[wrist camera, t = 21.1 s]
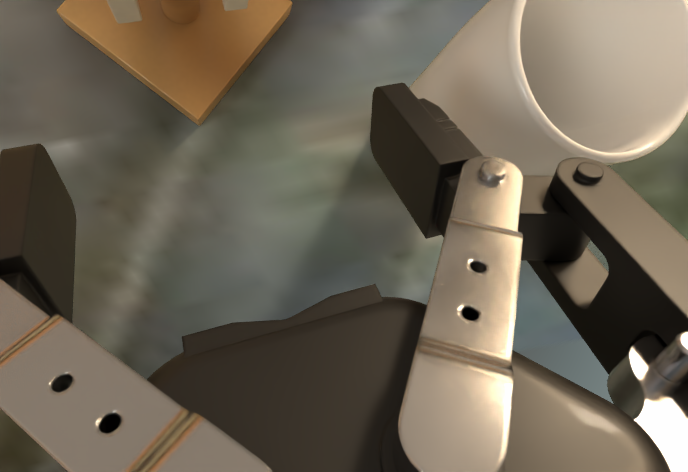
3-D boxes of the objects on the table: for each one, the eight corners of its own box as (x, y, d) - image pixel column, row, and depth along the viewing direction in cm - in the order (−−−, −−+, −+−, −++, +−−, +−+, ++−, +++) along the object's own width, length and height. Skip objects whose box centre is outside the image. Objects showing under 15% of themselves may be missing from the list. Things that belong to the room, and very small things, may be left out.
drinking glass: (483, 177, 30) (730, 121, 15) (385, 218, 28) (557, 199, 14) (444, 71, 29) (663, -92, 15) (342, 107, 28) (475, -35, 13)
